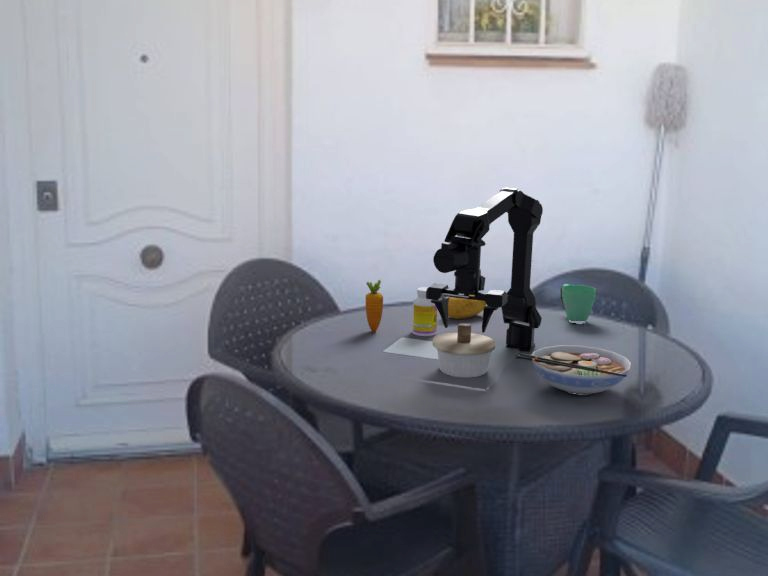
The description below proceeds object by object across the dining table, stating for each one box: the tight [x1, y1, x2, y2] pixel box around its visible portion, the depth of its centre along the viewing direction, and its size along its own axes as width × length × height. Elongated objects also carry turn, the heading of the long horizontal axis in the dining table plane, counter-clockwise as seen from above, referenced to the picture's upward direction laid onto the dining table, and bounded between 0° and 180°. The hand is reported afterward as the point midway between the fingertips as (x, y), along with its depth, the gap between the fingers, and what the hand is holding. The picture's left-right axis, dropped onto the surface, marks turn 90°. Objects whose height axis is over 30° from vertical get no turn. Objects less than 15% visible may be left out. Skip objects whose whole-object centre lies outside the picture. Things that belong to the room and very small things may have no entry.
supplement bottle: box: [411, 286, 438, 337], centre depth 253 cm, size 7×7×13 cm
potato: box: [448, 294, 487, 320], centre depth 272 cm, size 7×14×7 cm, turn 118°
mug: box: [560, 283, 598, 322], centre depth 272 cm, size 15×10×10 cm
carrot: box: [365, 279, 384, 333], centre depth 253 cm, size 5×5×15 cm
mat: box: [382, 336, 438, 360], centre depth 240 cm, size 18×14×1 cm
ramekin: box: [437, 349, 493, 379], centre depth 224 cm, size 13×13×7 cm
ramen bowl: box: [515, 344, 632, 395], centre depth 213 cm, size 25×23×8 cm
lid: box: [432, 323, 496, 355], centre depth 222 cm, size 15×15×5 cm
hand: (464, 329), depth 222 cm, fingers open, 9 cm apart
